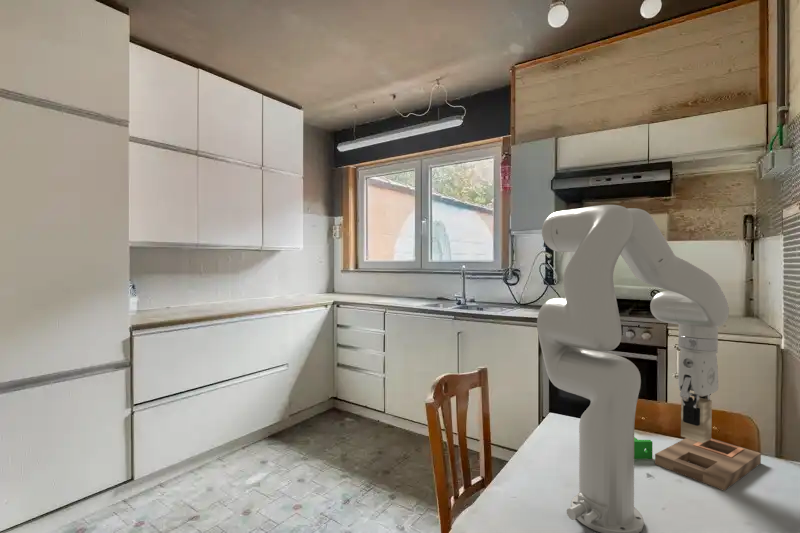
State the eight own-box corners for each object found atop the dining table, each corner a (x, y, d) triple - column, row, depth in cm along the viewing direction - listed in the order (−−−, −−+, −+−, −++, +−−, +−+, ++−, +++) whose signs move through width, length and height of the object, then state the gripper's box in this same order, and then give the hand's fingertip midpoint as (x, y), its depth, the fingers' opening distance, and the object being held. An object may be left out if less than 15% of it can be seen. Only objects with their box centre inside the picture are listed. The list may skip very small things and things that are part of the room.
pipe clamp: (643, 452, 107) (644, 435, 107) (652, 459, 103) (652, 441, 103) (600, 452, 107) (600, 434, 107) (607, 459, 103) (607, 441, 103)
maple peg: (702, 443, 94) (703, 403, 94) (680, 436, 98) (681, 398, 98) (711, 438, 96) (711, 400, 96) (689, 432, 100) (690, 395, 100)
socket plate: (724, 490, 89) (724, 478, 89) (655, 464, 100) (655, 453, 100) (760, 463, 101) (760, 452, 101) (695, 442, 112) (695, 432, 112)
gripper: (700, 350, 89) (698, 434, 89) (731, 343, 98) (729, 420, 98) (662, 344, 95) (661, 423, 95) (695, 338, 105) (693, 410, 105)
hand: (696, 420), depth 97 cm, fingers closed on maple peg, 4 cm apart
